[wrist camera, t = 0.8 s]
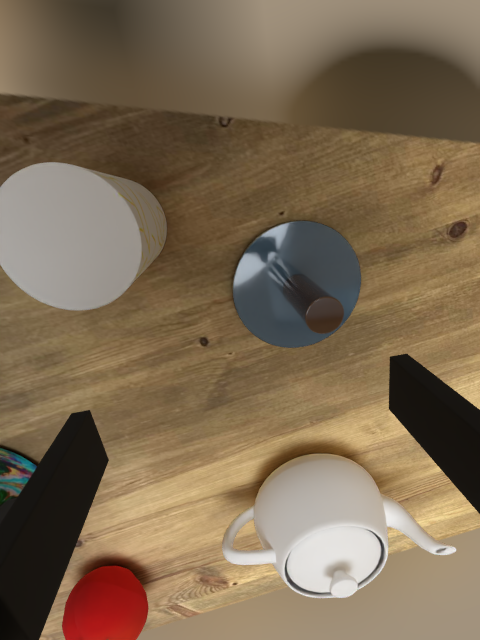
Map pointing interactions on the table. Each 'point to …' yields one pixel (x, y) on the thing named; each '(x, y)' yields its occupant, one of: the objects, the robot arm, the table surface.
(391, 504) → the teapot
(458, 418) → the robot arm
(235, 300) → the canister lid
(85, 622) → the tomato
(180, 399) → the table surface
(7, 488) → the vase
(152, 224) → the white cylinder
